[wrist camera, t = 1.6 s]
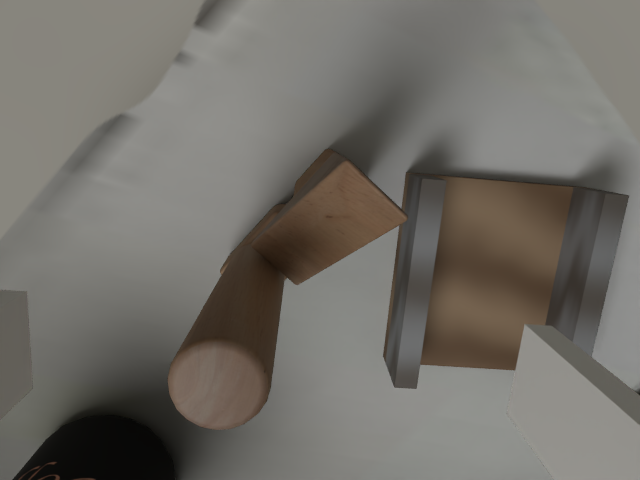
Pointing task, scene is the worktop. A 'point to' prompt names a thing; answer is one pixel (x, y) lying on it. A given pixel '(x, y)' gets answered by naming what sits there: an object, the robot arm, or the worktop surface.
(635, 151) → the worktop surface
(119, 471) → the coffee jar
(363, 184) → the brown upright wooden piece
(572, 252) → the metal-railed wooden board
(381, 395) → the worktop surface
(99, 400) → the worktop surface
